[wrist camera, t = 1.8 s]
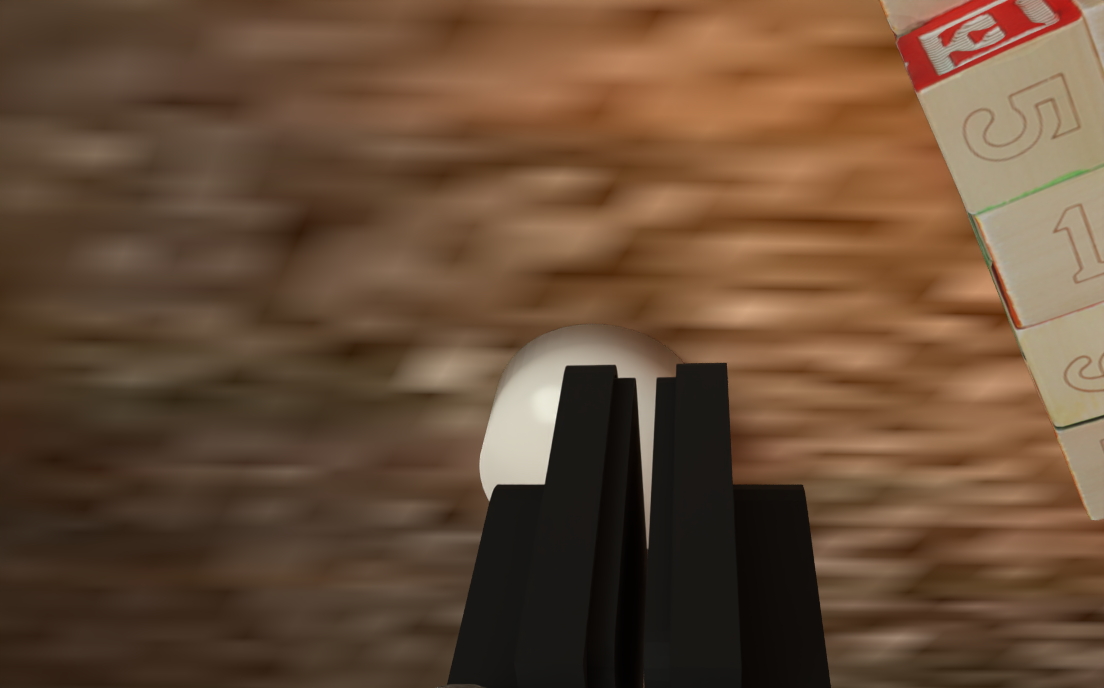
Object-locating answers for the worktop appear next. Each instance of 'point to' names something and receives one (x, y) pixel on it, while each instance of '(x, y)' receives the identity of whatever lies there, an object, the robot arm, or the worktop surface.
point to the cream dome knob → (534, 394)
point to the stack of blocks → (1028, 183)
